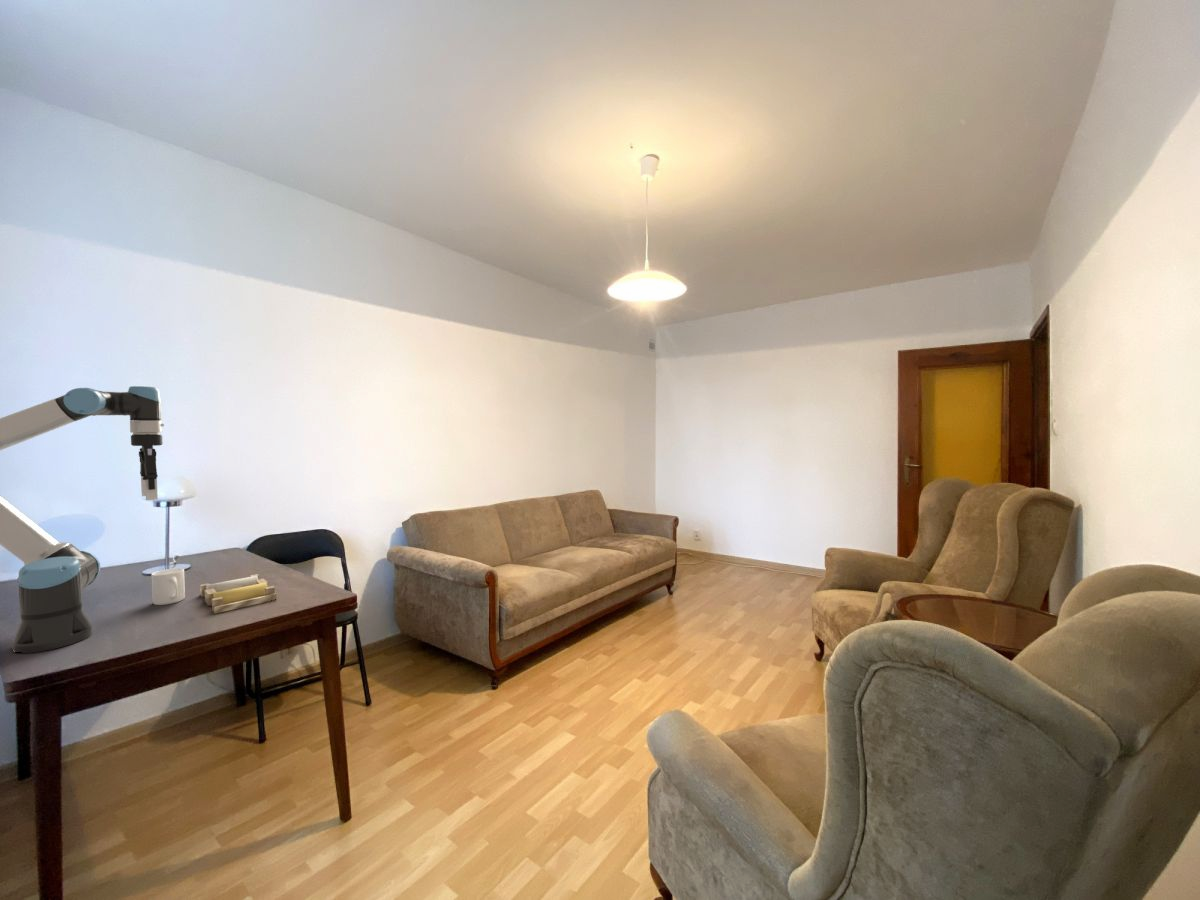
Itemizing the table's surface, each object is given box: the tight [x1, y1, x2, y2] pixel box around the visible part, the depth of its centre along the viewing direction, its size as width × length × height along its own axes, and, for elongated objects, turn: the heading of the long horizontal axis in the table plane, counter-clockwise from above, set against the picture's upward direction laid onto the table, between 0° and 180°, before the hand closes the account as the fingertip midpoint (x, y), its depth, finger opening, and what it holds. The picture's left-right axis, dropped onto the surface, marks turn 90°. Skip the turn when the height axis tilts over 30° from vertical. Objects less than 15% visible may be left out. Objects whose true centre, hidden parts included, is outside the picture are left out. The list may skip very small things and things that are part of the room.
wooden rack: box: [199, 573, 278, 615], centre depth 173 cm, size 18×27×4 cm, turn 48°
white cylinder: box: [206, 576, 258, 592], centre depth 178 cm, size 15×5×5 cm, turn 137°
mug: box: [150, 567, 186, 606], centre depth 168 cm, size 9×12×11 cm
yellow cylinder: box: [213, 583, 269, 605], centre depth 169 cm, size 15×5×5 cm
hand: (149, 497), depth 157 cm, fingers open, 13 cm apart
